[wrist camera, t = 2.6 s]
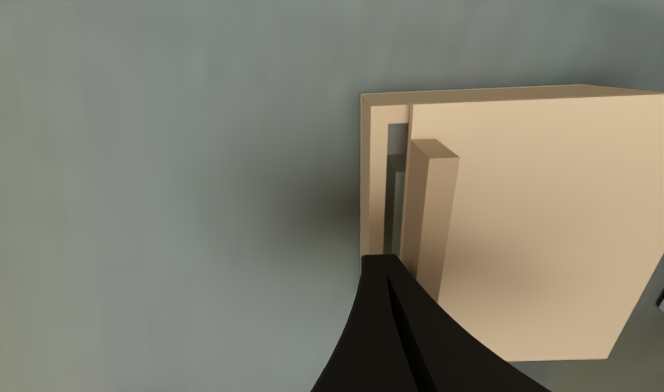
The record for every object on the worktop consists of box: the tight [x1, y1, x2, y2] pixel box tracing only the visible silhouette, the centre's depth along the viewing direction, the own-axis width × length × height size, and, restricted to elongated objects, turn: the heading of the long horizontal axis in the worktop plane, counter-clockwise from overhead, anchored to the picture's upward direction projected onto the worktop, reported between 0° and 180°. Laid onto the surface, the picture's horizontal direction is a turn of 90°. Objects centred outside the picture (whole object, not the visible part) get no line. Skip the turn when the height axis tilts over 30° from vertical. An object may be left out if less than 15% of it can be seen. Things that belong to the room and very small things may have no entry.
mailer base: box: [360, 84, 660, 276], centre depth 14 cm, size 10×12×4 cm
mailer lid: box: [399, 92, 664, 361], centre depth 11 cm, size 10×12×2 cm
